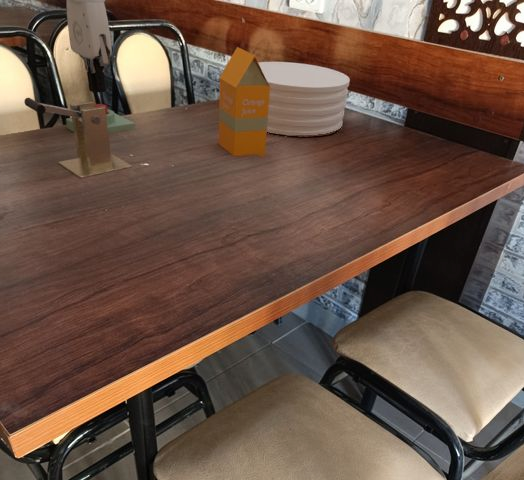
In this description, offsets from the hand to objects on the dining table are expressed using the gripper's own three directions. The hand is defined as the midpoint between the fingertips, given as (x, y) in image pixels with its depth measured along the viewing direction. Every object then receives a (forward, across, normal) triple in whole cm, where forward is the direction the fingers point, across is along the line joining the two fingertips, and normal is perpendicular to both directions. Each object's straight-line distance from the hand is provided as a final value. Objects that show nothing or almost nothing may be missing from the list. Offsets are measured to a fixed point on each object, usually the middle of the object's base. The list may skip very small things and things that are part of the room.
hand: (97, 91), depth 113 cm
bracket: (+8, +21, -13) cm, 26 cm away
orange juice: (+9, +28, +19) cm, 35 cm away
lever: (-2, +21, -18) cm, 28 cm away
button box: (+8, 0, 0) cm, 8 cm away
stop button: (+5, 0, 0) cm, 5 cm away
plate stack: (+9, +16, +47) cm, 50 cm away
